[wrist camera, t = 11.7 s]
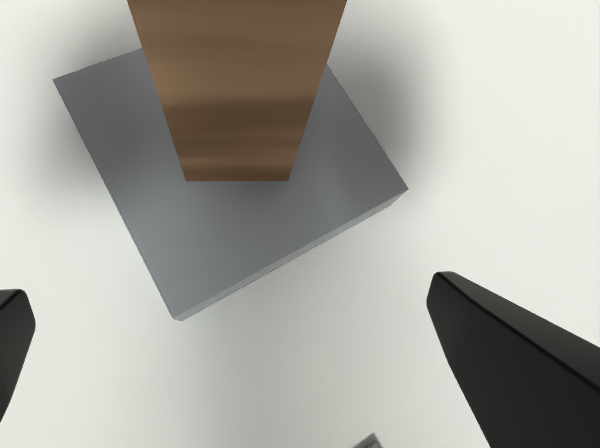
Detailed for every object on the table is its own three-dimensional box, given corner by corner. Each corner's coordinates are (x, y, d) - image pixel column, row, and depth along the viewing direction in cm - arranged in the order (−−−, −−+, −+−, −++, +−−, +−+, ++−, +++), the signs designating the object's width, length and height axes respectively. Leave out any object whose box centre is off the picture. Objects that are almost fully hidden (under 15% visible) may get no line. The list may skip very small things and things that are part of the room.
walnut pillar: (288, 181, 18) (402, -171, 6) (186, 181, 17) (54, -224, 5) (282, 95, 19) (366, -351, 7) (186, 91, 18) (83, -417, 6)
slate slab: (181, 321, 18) (172, 318, 15) (74, 110, 20) (52, 79, 17) (389, 205, 21) (408, 189, 19) (279, 34, 23) (284, -1, 21)
